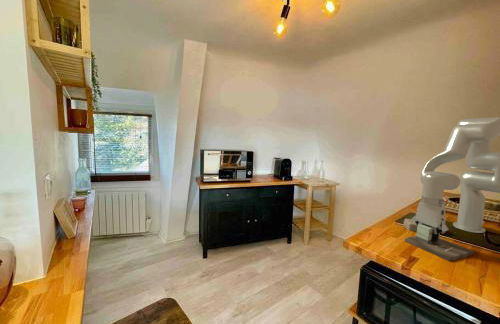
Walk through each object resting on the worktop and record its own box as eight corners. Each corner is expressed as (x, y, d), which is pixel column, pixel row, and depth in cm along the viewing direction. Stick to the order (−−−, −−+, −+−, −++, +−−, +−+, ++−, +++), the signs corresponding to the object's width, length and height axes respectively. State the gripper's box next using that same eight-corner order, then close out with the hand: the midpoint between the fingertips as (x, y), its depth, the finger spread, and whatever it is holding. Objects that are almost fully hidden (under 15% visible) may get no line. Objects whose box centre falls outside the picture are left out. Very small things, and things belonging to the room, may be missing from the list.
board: (427, 236, 112) (427, 233, 111) (473, 254, 95) (473, 251, 95) (404, 241, 106) (405, 238, 106) (449, 261, 89) (449, 257, 89)
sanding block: (427, 236, 108) (428, 222, 107) (438, 241, 103) (440, 226, 102) (416, 238, 105) (417, 224, 104) (427, 243, 101) (429, 229, 100)
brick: (408, 231, 118) (409, 222, 117) (402, 225, 126) (403, 217, 125) (446, 235, 114) (447, 226, 113) (437, 228, 122) (438, 220, 121)
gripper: (459, 205, 95) (454, 245, 98) (417, 195, 111) (414, 230, 113) (448, 207, 93) (443, 248, 95) (407, 196, 109) (403, 232, 111)
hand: (427, 238), depth 104 cm, fingers closed on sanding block, 5 cm apart
